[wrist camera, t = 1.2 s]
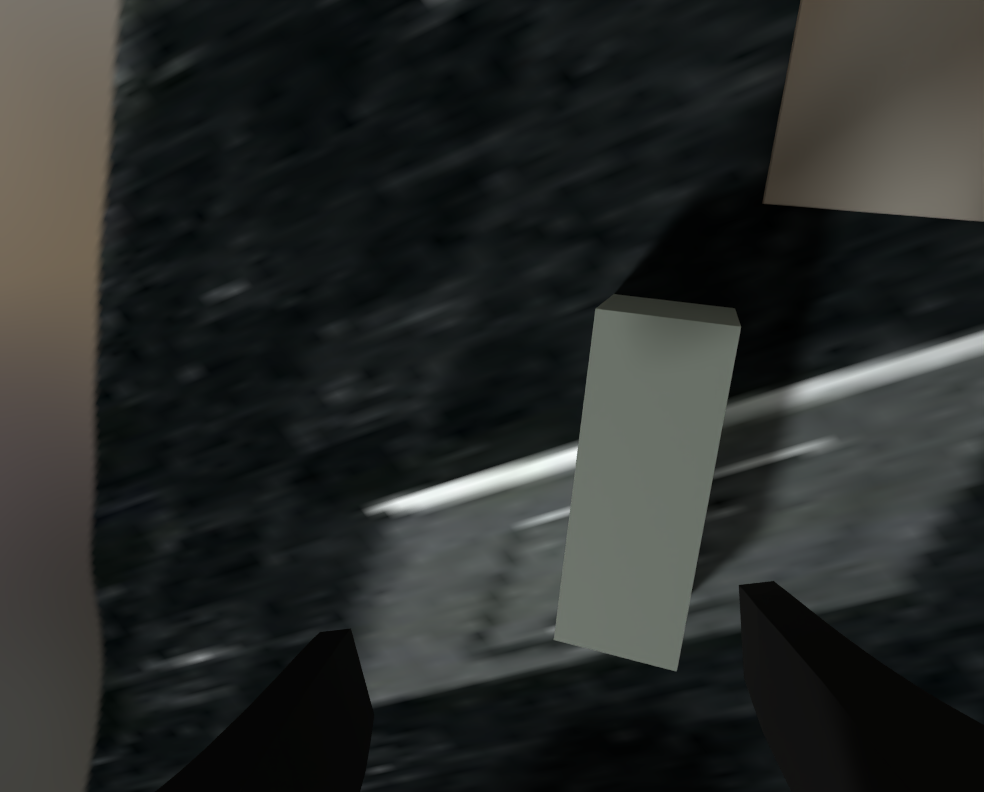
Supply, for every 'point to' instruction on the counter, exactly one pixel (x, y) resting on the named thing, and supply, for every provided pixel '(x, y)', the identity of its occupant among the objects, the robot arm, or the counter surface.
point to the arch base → (883, 109)
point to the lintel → (644, 474)
